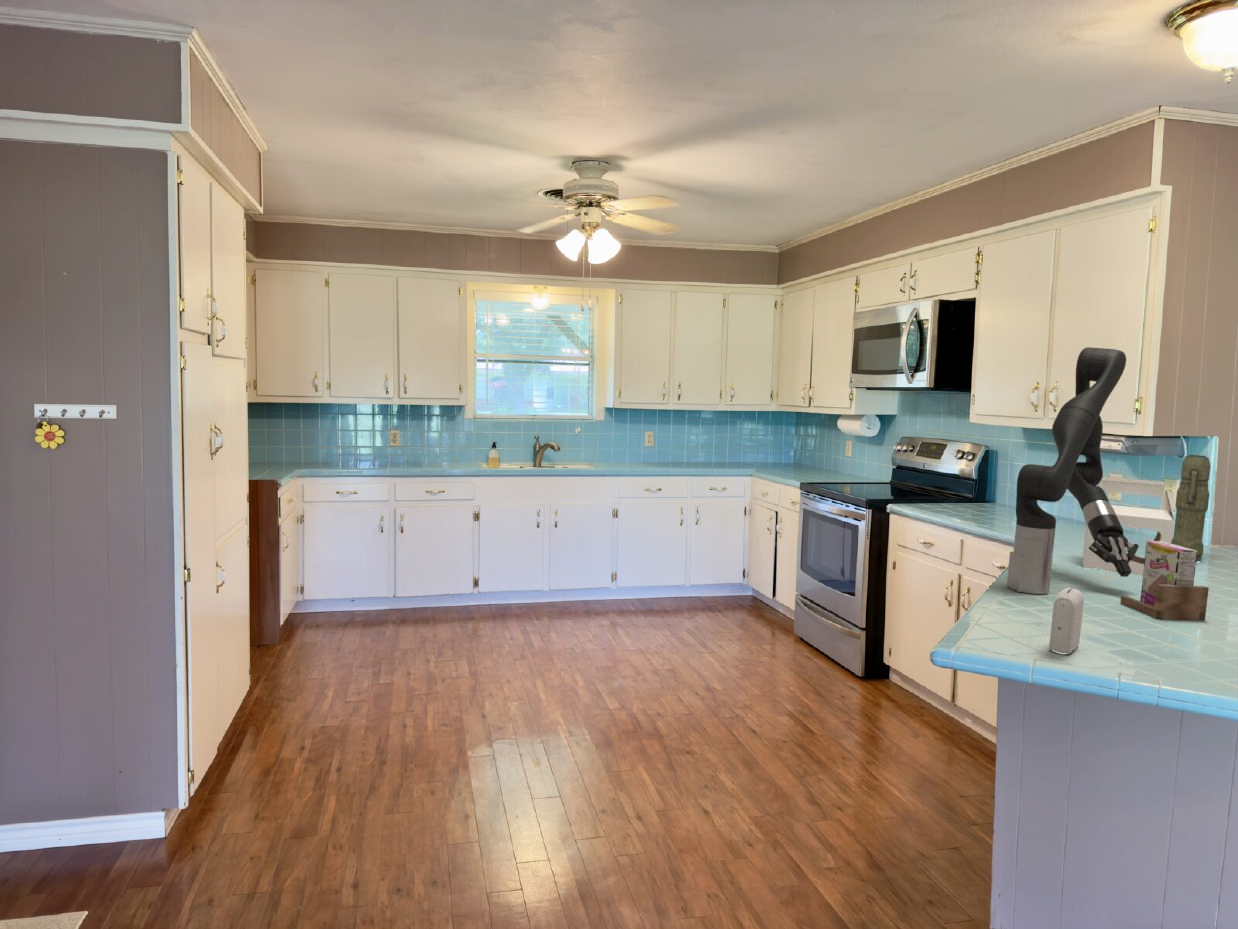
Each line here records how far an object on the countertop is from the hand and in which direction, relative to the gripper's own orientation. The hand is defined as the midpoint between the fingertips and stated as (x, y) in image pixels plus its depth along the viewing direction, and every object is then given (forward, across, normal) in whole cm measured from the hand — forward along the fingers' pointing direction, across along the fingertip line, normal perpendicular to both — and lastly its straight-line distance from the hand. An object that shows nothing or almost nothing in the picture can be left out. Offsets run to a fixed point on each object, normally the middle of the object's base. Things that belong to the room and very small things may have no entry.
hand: (1126, 575), depth 212 cm
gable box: (-22, +24, +31) cm, 45 cm away
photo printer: (+38, -43, -29) cm, 64 cm away
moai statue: (-35, +57, +43) cm, 80 cm away
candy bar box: (+13, +2, -5) cm, 14 cm away
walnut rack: (+14, 0, -6) cm, 15 cm away
